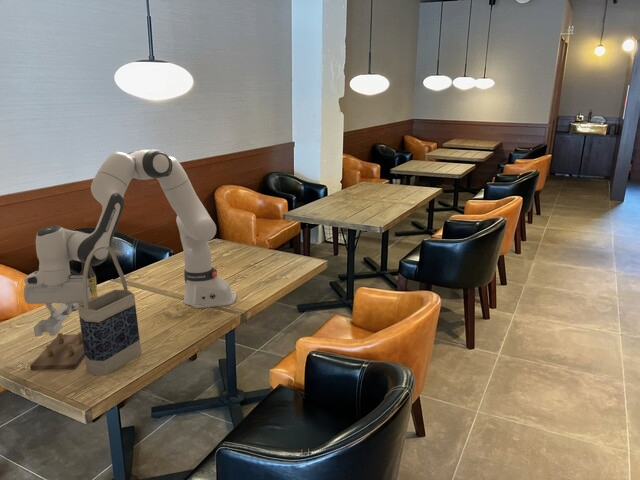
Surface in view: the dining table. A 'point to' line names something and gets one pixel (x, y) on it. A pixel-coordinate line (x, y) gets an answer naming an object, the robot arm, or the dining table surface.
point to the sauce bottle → (91, 281)
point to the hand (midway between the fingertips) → (60, 314)
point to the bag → (108, 325)
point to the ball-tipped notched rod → (54, 321)
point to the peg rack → (61, 353)
